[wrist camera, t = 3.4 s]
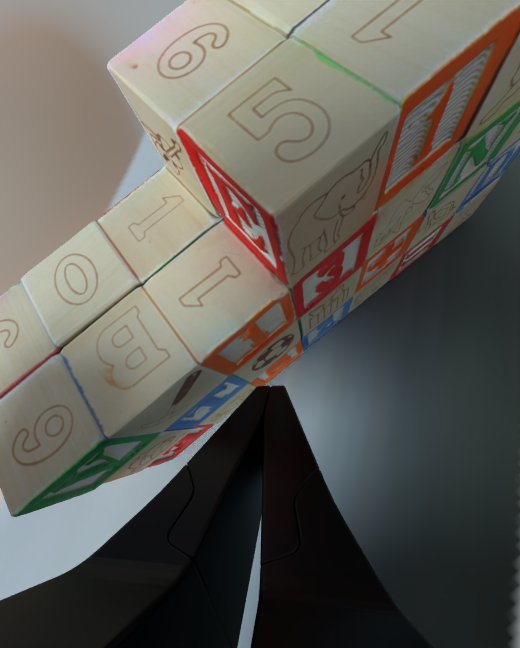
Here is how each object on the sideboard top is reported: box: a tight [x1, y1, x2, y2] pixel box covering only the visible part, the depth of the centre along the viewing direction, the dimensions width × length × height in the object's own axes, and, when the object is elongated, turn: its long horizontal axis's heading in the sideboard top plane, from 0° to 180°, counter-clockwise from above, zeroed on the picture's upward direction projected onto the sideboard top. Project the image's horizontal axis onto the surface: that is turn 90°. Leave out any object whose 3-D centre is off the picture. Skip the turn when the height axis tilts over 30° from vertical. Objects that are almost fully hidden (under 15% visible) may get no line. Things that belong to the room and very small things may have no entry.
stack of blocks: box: [0, 0, 520, 517], centre depth 12 cm, size 21×6×12 cm, turn 128°
